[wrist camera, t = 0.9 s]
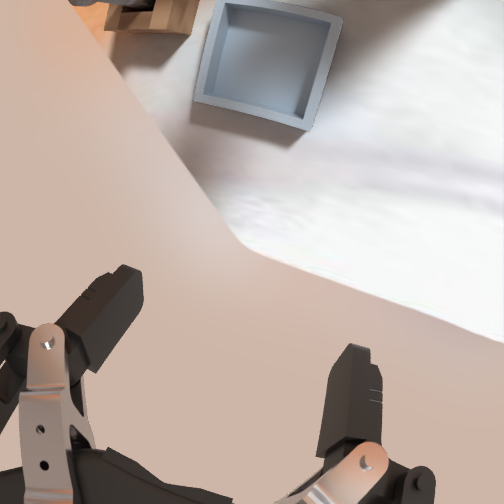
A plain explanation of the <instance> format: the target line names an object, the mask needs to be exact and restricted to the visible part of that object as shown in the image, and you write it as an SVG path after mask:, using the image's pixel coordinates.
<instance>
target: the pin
mask: <svg viewBox="0 0 504 504" xmlns="http://www.w3.org/2000/svg"><path fill="white" fill-rule="evenodd" d="M69 2H70V3H71V4H72V5H74V6H82V7H87V6H90V5H93V4H94V3H96V2H104V3H110V4H116V5H122V6H127V7H132V8H137V9H141V10H146V11H150V12H151V11H153V10H154V6H155V2H156V0H69Z"/></svg>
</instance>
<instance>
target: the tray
mask: <svg viewBox="0 0 504 504" xmlns="http://www.w3.org/2000/svg"><path fill="white" fill-rule="evenodd" d="M343 19H344V18H343V17H339V16H336V15H333V14H329V13H325V12H322V11H318V10H314V9H310V8H306V7H301V6H297V5H292V4H287V3H282V2H277V1H271V0H217V1H216V4H215V8H214V11H213V15H212V19H211V23H210V27H209V31H208V35H207V39H206V43H205V47H204V52H203V56H202V60H201V65H200V69H199V74H198V79H197V84H196V89H195V94H194V99H193V101H194V102H199V103H204V104H208V105H213V106H218V107H222V108H227V109H231V110H235V111H239V112H243V113H247V114H251V115H255V116H259V117H262V118H266V119H269V120H273V121H276V122H280V123H283V124H287V125H290V126H293V127H296V128H300V129H303V130H306V131H309V132H310V130H311V128H312V126H313V123H314V119H315V116H316V113H317V110H318V106H319V103H320V100H321V96H322V93H323V90H324V86H325V83H326V80H327V77H328V73H329V70H330V66H331V63H332V60H333V56H334V53H335V49H336V46H337V43H338V39H339V36H340V32H341V29H342V25H343Z"/></svg>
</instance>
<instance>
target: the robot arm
mask: <svg viewBox="0 0 504 504" xmlns="http://www.w3.org/2000/svg"><path fill="white" fill-rule="evenodd" d="M143 301H144V296H143V281H142V273H141V271H139V270H137V269H134V268H132V267H129V266H127V265H124V264H123V265H121V266H120V267H119V268H118V269H117V270H116V271H115V272H114V273H113V274H111V273H109V272H108V273H106V274H104V275H102V276H100V277H98V278H96V279H95V280H94V281H93V282H92V283H91V284H90V286H89V287H88V289H86V290H85V291H84V292H83V293H82V294H81V296H79V297H78V298H77V299H76V300H75V302H74V303H73V304H72V305H71V306H70V307H69V308H68V309H67V310H66V312H65V313H64V314H63V315H62V316H61V317H60V318H59V319H58V320H57V321H56V322H55V323H54V324H50V323H47V324H43V325H40V326H39V327H37V328H32V327H29V326H25V325H21V324H18V323H17V321H16V320H15V317H14V316H13V315H12V314H11V313H9V312H0V365H1V364H2V362H3V361H4V360H5V361H6V362H5V363H4V364H3V366H2V367H1V369H0V434H1V432H2V431H3V429H4V427H5V425H6V423H7V422H8V420H9V418H10V416H11V415H12V413H13V411H14V410H15V408H16V406H17V405H18V403H19V429H20V430H19V431H20V446H21V457H22V465H23V466H21V467H18V468H14V469H9V470H6V471H1V472H0V504H234V503H232V500H233V499H232V498H229V497H226V496H222V495H219V494H216V493H213V492H210V491H207V490H204V489H201V488H192V487H185V486H179V485H172V484H167V483H164V482H162V481H161V480H159V479H158V478H157V477H155V476H154V475H153V474H151V473H150V472H149V471H147V470H146V469H145V468H144V467H142V466H141V465H140V464H139V463H137V462H136V461H134V460H132V459H130V458H128V457H126V456H124V455H122V454H120V453H118V452H116V451H115V450H113V449H111V448H109V447H108V448H107V449H106V451H104V450H99V449H96V447H95V441H94V436H93V433H92V430H91V427H90V424H89V421H88V416H87V408H86V399H85V389H84V378H83V374H84V372H85V371H86V369H89V370H90V371H92V372H94V373H97V371H98V370H99V368H100V367H101V366H102V364H103V363H104V361H105V360H106V358H107V357H108V356H109V354H110V353H111V351H112V350H113V348H114V347H115V346H116V344H117V343H118V341H119V340H120V339H121V337H122V336H123V334H124V333H125V332H126V330H127V329H128V328H129V326H130V325H131V323H132V322H133V321H134V319H135V318H136V316H137V315H138V314H139V312H140V311H141V308H142V306H143ZM381 430H382V376H381V373H380V371H379V368H378V366H377V365H373V364H370V349H369V348H366V347H362V346H359V345H355V344H351V343H350V344H349V345H348V346H347V347H346V349H345V350H344V351H343V353H342V354H341V356H340V357H339V358H338V360H337V361H336V363H335V364H334V366H333V367H332V369H331V371H330V374H329V377H328V384H327V391H326V398H325V405H324V411H323V418H322V424H321V430H320V436H319V441H318V447H317V452H316V457H320V458H325V460H324V465H323V467H321V468H320V469H319V470H318V471H317V472H315V473H314V474H313V475H312V476H311V477H309V478H308V479H307V480H306V481H304V482H303V483H302V484H300V485H299V486H298V487H297V488H295V489H294V490H293V491H291V492H290V493H289V494H287V495H286V496H285V497H283V498H281V499H280V500H278V501H276V502H274V503H273V504H357V503H358V504H434V497H435V486H436V480H435V476H434V474H433V472H432V471H431V470H430V469H429V468H427V467H425V466H418V467H415V468H413V469H408V468H406V467H404V466H402V465H400V464H397V463H396V462H394V461H392V460H390V459H389V458H388V455H387V452H386V451H385V449H384V448H383V447H382V445H381V432H382V431H381Z"/></svg>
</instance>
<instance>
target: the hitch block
mask: <svg viewBox="0 0 504 504" xmlns="http://www.w3.org/2000/svg"><path fill="white" fill-rule="evenodd" d="M199 1H200V0H156V2H155V6H154V10H153V11H151V12H150V11H146V10H141V9H137V8H132V7H127V6H122V5H116V4H110V5H109V9H108V13H107V18H106V22H105V27H104V31H118V32H129V33H169V34H185V35H191V32H192V28H193V23H194V20H195V16H196V12H197V8H198V4H199Z"/></svg>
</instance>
